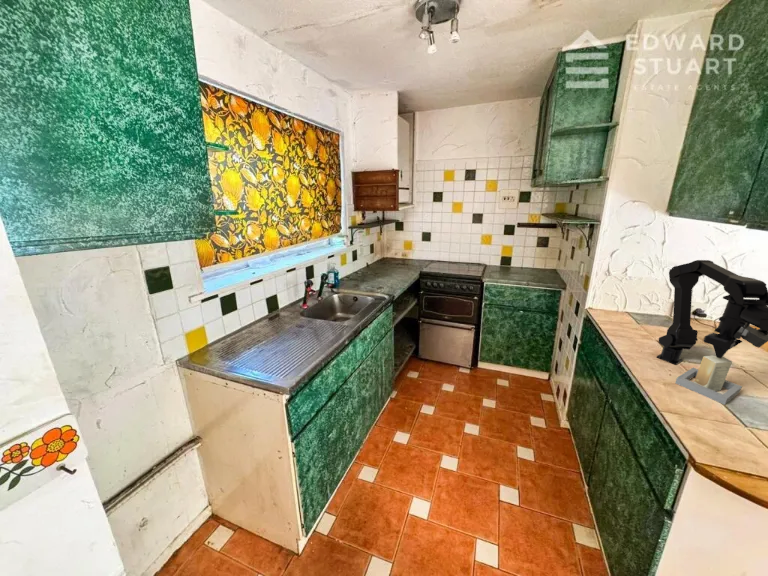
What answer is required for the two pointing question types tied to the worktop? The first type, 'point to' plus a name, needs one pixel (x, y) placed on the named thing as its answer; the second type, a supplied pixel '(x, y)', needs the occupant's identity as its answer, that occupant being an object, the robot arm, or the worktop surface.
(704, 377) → the skincare box
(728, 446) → the worktop surface
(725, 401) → the holder
